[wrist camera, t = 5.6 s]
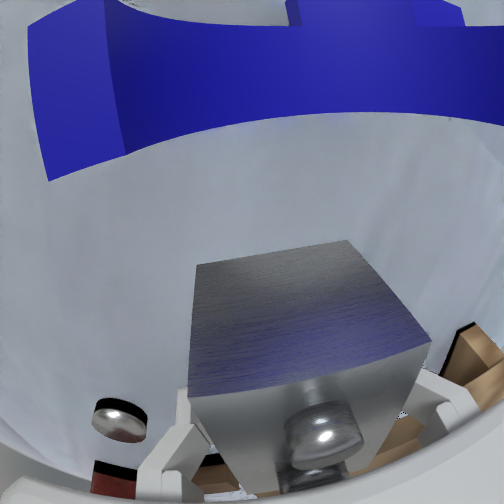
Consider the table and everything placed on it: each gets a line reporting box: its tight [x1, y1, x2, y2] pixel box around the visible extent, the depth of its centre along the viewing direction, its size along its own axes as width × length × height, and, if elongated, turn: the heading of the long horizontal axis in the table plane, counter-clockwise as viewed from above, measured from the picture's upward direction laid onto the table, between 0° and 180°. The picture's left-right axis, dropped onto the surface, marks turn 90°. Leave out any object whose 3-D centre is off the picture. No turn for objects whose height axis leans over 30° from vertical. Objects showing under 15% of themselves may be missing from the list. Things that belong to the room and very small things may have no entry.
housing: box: [187, 240, 432, 495], centre depth 8 cm, size 5×8×6 cm, turn 7°
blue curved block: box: [28, 0, 504, 181], centre depth 6 cm, size 12×4×6 cm, turn 99°
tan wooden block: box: [191, 453, 239, 494], centre depth 18 cm, size 5×3×3 cm, turn 106°
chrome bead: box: [92, 398, 148, 443], centre depth 15 cm, size 4×4×2 cm
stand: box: [255, 322, 504, 498], centre depth 15 cm, size 18×10×6 cm, turn 99°
